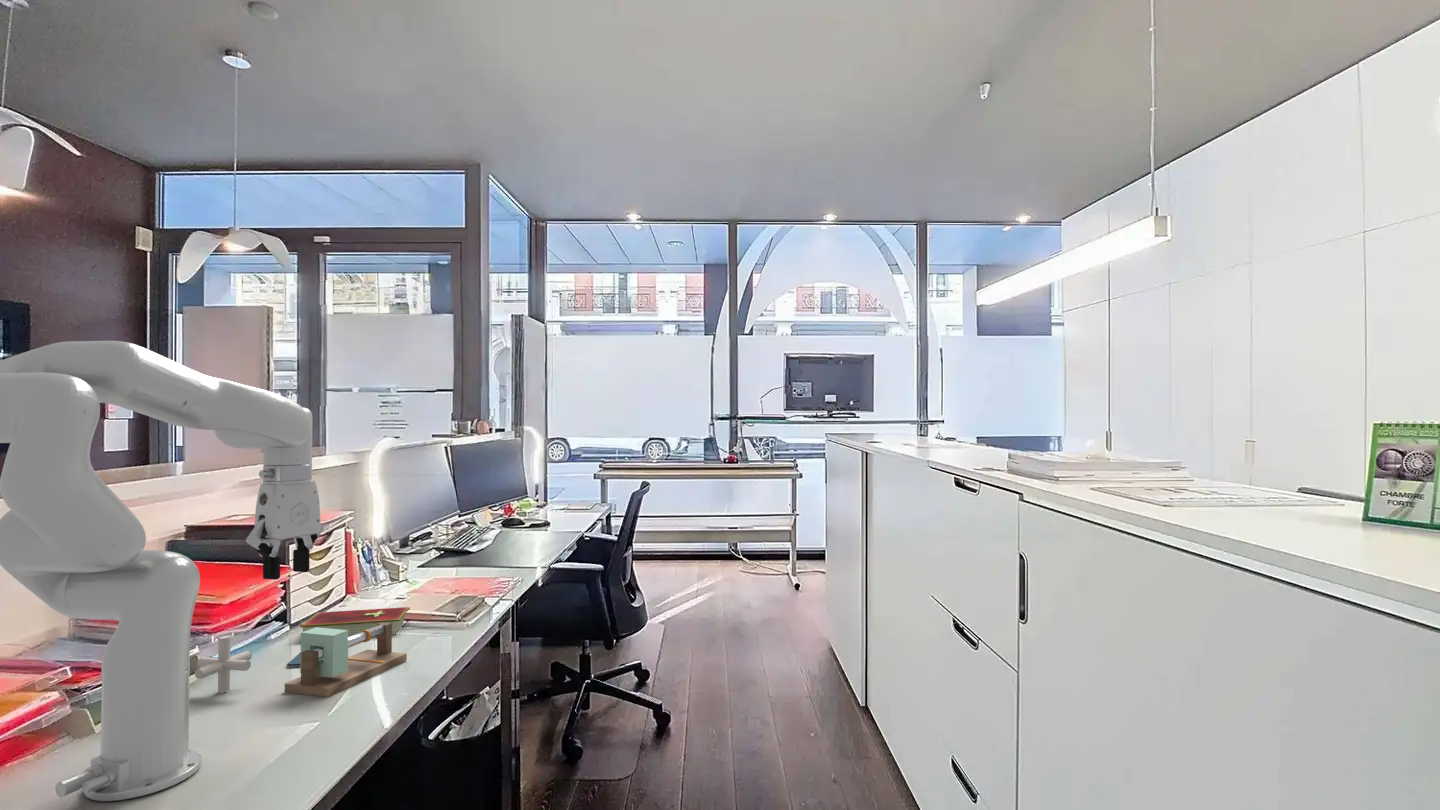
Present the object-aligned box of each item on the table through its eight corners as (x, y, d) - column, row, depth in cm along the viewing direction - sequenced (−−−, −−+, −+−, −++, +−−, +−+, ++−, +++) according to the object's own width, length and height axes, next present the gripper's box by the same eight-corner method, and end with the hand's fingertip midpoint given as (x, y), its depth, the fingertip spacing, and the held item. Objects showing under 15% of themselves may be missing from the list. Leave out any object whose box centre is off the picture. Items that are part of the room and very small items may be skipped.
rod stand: (327, 697, 125) (328, 654, 125) (284, 691, 128) (285, 649, 128) (406, 660, 144) (406, 623, 144) (367, 656, 147) (367, 620, 147)
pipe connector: (221, 704, 122) (222, 647, 122) (175, 700, 124) (176, 644, 124) (269, 683, 132) (269, 630, 132) (225, 679, 134) (226, 628, 134)
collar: (332, 677, 127) (333, 635, 128) (300, 673, 130) (300, 632, 130) (347, 670, 131) (348, 630, 131) (315, 666, 133) (316, 627, 133)
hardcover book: (318, 628, 169) (318, 610, 169) (409, 622, 174) (409, 605, 174) (300, 643, 158) (300, 624, 158) (399, 636, 162) (399, 618, 163)
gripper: (260, 478, 116) (259, 587, 115) (342, 471, 132) (341, 566, 132) (226, 478, 118) (224, 584, 117) (311, 471, 134) (310, 564, 134)
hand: (286, 574), depth 124 cm, fingers open, 5 cm apart
